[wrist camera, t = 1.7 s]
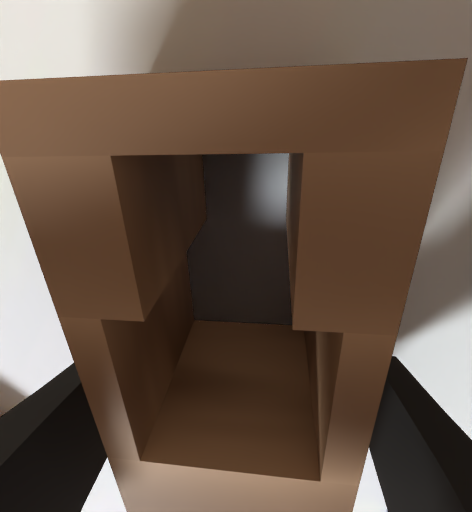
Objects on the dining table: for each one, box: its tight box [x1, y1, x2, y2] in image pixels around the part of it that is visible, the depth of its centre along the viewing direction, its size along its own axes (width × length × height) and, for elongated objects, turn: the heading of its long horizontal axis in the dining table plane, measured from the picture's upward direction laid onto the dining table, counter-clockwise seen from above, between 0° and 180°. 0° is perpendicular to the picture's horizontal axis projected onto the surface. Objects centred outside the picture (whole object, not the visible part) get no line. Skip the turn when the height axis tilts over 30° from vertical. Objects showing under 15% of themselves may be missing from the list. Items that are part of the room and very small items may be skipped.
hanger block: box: [0, 58, 468, 512], centre depth 8 cm, size 11×5×5 cm, turn 2°
